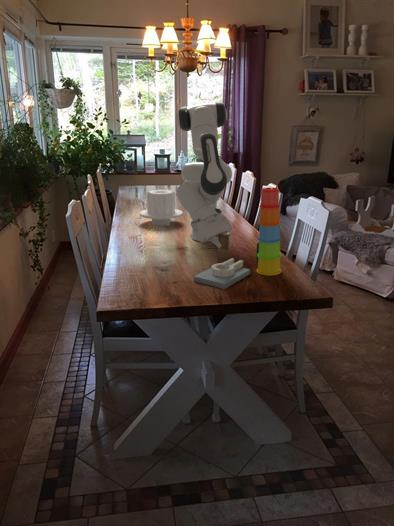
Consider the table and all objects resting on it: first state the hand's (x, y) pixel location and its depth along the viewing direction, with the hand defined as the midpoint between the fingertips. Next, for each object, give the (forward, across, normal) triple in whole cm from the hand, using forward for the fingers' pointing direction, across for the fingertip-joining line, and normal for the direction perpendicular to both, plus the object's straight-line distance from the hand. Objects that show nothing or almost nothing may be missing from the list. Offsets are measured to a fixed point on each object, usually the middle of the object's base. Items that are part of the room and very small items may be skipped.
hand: (224, 245), depth 170 cm
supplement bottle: (+13, +26, +6) cm, 30 cm away
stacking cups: (+18, +17, +2) cm, 25 cm away
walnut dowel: (+4, 0, +5) cm, 6 cm away
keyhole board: (+9, 0, +10) cm, 14 cm away
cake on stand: (-46, +56, +64) cm, 96 cm away
